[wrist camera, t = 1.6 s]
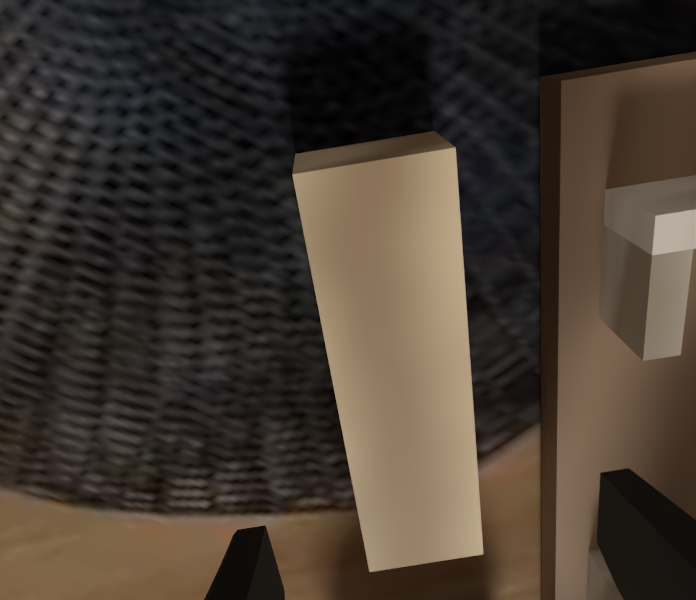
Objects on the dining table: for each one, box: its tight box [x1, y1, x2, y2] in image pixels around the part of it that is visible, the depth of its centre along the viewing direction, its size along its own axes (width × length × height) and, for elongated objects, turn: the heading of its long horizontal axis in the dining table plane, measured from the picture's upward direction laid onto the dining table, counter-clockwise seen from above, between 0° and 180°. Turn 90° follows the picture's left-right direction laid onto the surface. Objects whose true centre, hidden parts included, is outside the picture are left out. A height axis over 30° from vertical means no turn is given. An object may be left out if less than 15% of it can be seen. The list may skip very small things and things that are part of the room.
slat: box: [292, 131, 483, 572], centre depth 18 cm, size 4×14×3 cm, turn 8°
